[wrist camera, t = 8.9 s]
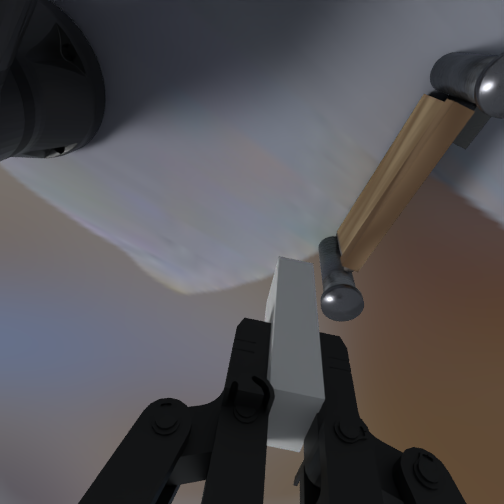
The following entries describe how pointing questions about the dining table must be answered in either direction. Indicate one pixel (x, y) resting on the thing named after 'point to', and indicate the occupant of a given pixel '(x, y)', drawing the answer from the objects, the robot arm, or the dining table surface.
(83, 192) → the dining table surface
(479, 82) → the post
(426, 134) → the brown wooden board
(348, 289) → the hinge post
